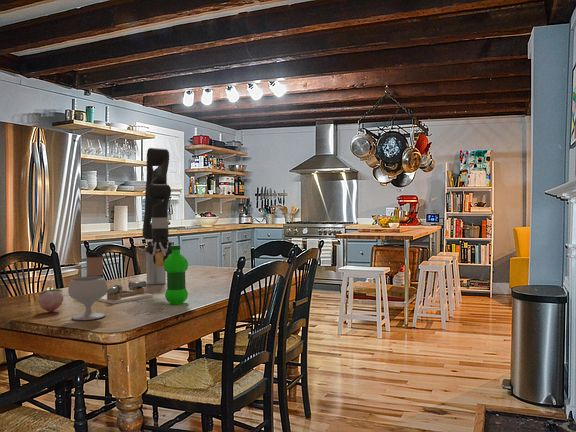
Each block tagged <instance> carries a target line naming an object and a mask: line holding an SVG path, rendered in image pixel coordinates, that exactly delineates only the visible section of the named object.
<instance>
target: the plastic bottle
mask: <svg viewBox="0 0 576 432" xmlns="http://www.w3.org/2000/svg"><path fill="white" fill-rule="evenodd" d="M171 250H172V254H171V255H169V256H168V257H167V258H166V259H165V261H164V269H165V272H166V285H167V286H166V290H165V294H164V297H165V299H166V301H167V302H168V303H169V304H170V305H176V306H177V305H182V304H184V302H186V300H188V297H189V292H188V290H187V288H186V271H187V270H188V268H189V262H188V259H187V258H186V257H184V256H183V255H182V254H181V253H180V251H181V244H174V245H171Z"/></svg>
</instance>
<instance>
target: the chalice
mask: <svg viewBox="0 0 576 432" xmlns="http://www.w3.org/2000/svg"><path fill="white" fill-rule="evenodd" d="M108 289H109V288H108V284H107V280H106V279H105V277H104V276H103V277H101V276H88V277H87V276H79V277H74V278H71V279H70V281H69V284H68V288H67V293H68V296H69V297H70V298H71V299H73V300H74V301H77V302H79V303H81V304H83V305H84V307H85V312H83V313H80V314H75V315H73V316H72V317H71V320H74V321H92V320H98V319H102V318H104V317H106V314H105V313H103V312H93V311H92V306H93V304H94V303H96V302H98V299H100V298H102V297H103V296H104V295H107V294H108V293H107V291H108Z"/></svg>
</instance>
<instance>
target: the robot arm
mask: <svg viewBox="0 0 576 432" xmlns="http://www.w3.org/2000/svg"><path fill="white" fill-rule="evenodd" d="M169 164H170V152H169V150H168V149H166V148H160V147H159V148H158V147H149V148H148V149H147V151H146V181H145V193H144V194H145V195H144V217H143V225H142V237H143V239H144V240H152V241H146V244H147V246H146V247H145V259H146V260H145V266H146V283H147V285H161V284H167V272H166V271H165V269H164V266H156V258H155V253H160V252H163V254H164V261H165V259H166V258H167V257H168V256H169V255H171V254H172V250H171V245H175V242H174V241H170V240H169V217H168V214H169V212H168V211H169V210H168V209H169V206H168V205H169V201H170V198H171V194H172V188H171V186H170V185H169V184H168V180H167V179H168V177H167V176H168V170H169ZM154 167H156V168H155V169H154Z"/></svg>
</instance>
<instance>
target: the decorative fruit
mask: <svg viewBox="0 0 576 432" xmlns="http://www.w3.org/2000/svg"><path fill="white" fill-rule="evenodd" d="M63 291H64V290H61V289H59V288H53V289H52V287H49V289H47V290H42V291H40V292H39V293H38V304H39V306H40V308H42V310H44V311H46V312H49V313H52V312H54V311H56V310H57V309H58V308H59V307H60V306H61V305H62V304H63V301H64V296H63V294H62V293H63Z"/></svg>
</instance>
